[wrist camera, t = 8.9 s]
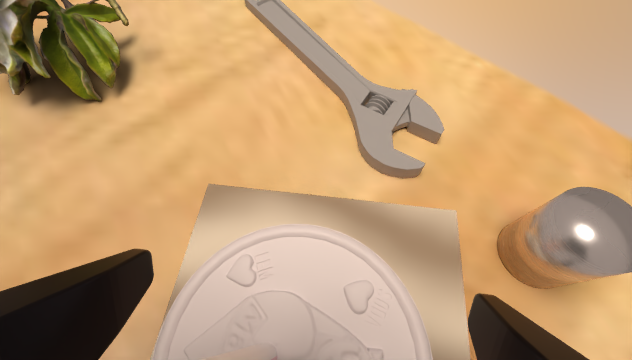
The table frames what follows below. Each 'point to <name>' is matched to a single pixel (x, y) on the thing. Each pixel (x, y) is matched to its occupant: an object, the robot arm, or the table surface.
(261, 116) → the table surface
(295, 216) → the pad
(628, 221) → the posts
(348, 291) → the smoothie
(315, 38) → the adjustable wrench
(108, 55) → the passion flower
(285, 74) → the table surface
